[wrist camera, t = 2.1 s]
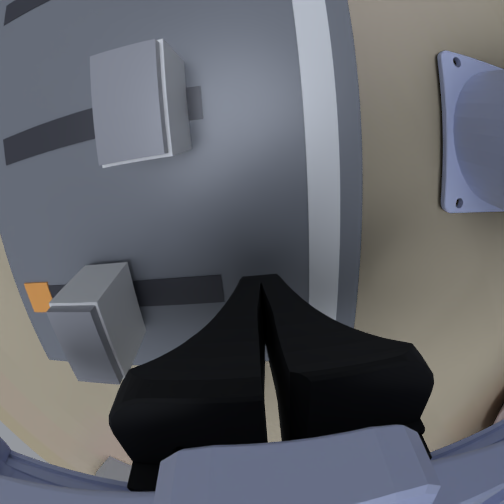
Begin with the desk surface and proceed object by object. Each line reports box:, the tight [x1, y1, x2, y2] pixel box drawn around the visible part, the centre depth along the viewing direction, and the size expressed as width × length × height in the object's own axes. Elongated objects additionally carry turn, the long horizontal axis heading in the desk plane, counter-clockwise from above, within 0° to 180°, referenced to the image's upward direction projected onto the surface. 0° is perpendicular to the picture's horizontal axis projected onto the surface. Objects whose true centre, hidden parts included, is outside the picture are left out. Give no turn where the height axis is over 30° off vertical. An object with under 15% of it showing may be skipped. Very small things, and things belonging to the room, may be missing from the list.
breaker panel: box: [0, 0, 362, 365], centre depth 9 cm, size 16×22×5 cm
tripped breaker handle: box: [46, 262, 146, 384], centre depth 10 cm, size 2×3×3 cm, turn 5°
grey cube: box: [95, 456, 132, 482], centre depth 20 cm, size 6×6×6 cm
